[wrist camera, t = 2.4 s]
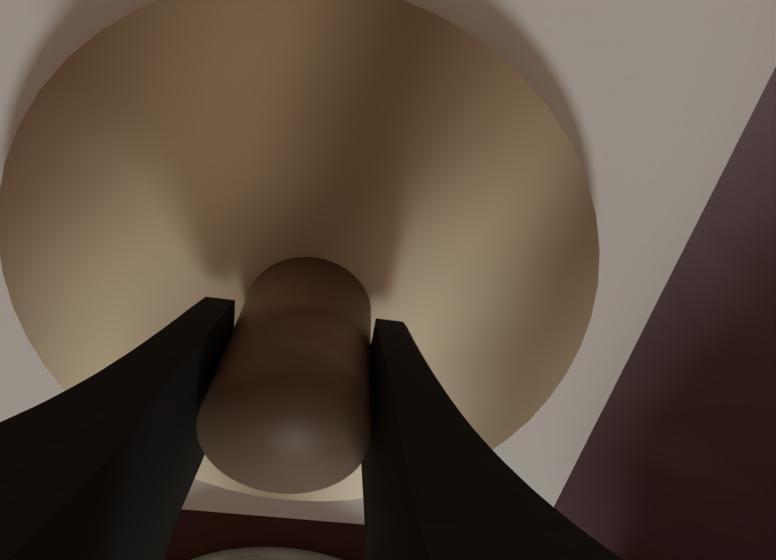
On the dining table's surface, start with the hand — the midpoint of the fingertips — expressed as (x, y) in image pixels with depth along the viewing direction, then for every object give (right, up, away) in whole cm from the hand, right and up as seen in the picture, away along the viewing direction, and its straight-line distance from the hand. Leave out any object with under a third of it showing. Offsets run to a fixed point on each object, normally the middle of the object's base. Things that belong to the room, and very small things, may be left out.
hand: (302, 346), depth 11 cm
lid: (0, +1, +2) cm, 2 cm away
